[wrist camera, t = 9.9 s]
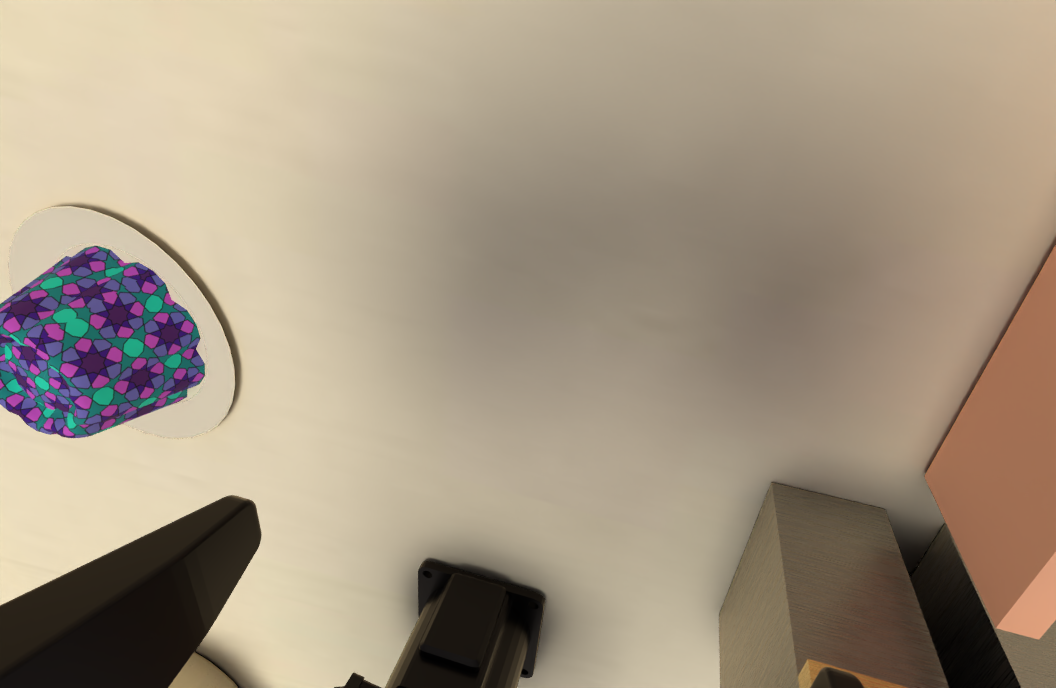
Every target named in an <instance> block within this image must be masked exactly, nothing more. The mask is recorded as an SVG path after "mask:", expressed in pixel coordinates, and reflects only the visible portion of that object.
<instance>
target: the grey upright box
mask: <svg viewBox="0 0 1056 688" xmlns="http://www.w3.org/2000/svg"><path fill="white" fill-rule="evenodd" d="M719 647H720V688H810V687H811V685H812V683H813V682H814V680H815V678H816V677H817V675H818V673H819V671H820V670H821V669H822V668H824V667H831V668H834V669H838V670H841V671H844V672H848V673H851V674H853V675H854V676H856V677H857V678H858V679H859V680H860V682H861V683H862V685H863V686H864V688H1056V620H1055V622H1054V623H1053V624H1052V625H1051V626H1050V627H1049V628H1048V630H1047V631H1046V632H1045V633H1044V634H1043V635H1042V637H1041V638H1040V639H1039V640H1038V639H1034V638H1031V637H1027V636H1023V635H1019V634H1015V633H1012V632H1008V631H1004V630H1000V629H997V628H995V626H994V624H993V622H992V620H991V617H990V615H989V613H988V611H987V609H986V607H985V605H984V603H983V600H982V598H981V596H980V594H979V592H978V590H977V588H976V586H975V583H974V581H973V579H972V577H971V575H970V573H969V571H968V569H967V566H966V564H965V562H964V560H963V558H962V556H961V554H960V552H959V549H958V547H957V545H956V543H955V541H954V539H953V537H952V535H951V532H950V530H949V528H948V526H947V524H945V523H944V525H943V527H942V528H941V530H940V532H939V533H938V535H937V536H936V538H935V540H934V541H933V543H932V544H931V546H930V548H929V549H928V551H927V552H926V554H925V556H924V557H923V559H922V560H921V562H920V564H919V565H918V567H917V568H916V570H915V572H914V573H913V575H912V576H911V578H910V577H909V575H908V572H907V569H906V566H905V564H904V561H903V558H902V555H901V552H900V550H899V547H898V544H897V541H896V538H895V536H894V533H893V530H892V527H891V525H890V522H889V519H888V516H887V513H886V511H885V509H882V508H878V507H874V506H870V505H865V504H861V503H857V502H853V501H849V500H844V499H840V498H836V497H832V496H828V495H823V494H819V493H815V492H811V491H807V490H802V489H798V488H794V487H790V486H786V485H781V484H777V483H773V482H772V483H771V485H770V488H769V490H768V493H767V495H766V498H765V500H764V503H763V505H762V508H761V510H760V513H759V515H758V518H757V521H756V523H755V526H754V528H753V531H752V533H751V536H750V538H749V541H748V543H747V546H746V548H745V551H744V553H743V556H742V558H741V561H740V563H739V566H738V568H737V571H736V573H735V576H734V579H733V581H732V584H731V586H730V589H729V591H728V594H727V596H726V599H725V601H724V604H723V606H722V609H721V611H720V614H719Z"/></svg>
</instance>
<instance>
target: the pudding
mask: <svg viewBox="0 0 1056 688" xmlns="http://www.w3.org/2000/svg"><path fill="white" fill-rule="evenodd" d="M86 244H97V245H102V246H108V247H112V248H114V249H117V250H120V251H123V252H125V253H127V254H129V255H131V256H132V257H134V258H136V259H138V260H140V261H141V262H143V263H144V264H145V265H147V266H148V267H150V268H151V269H152V270H154V271H155V272H156V273H157V274H158V275H159V276H160V277H162V278H163V279H164V280H165V281H166V282H167V283H168V284H169V285H170V286H171V287H172V288H173V290H174V291H175V292H176V293H177V294H178V295H179V296H180V298H181V299H182V301H183V302H184V303H185V305H186V306H187V308H188V309H189V311H190V312H191V314H192V316H193V318H194V319H195V321H196V323H197V325H198V328H199V330H200V332H201V335H202V337H203V341H204V345H205V349H206V354H207V372H206V378H205V380H204V383H203V386H202V387H201V389H200V390H199V391H198V393H197V394H196V395H194V396H193V397H192V398H190V399H189V400H186V401H184V402H181V403H177V402H179V401H181V400H182V399H184V398H186V397H187V389H188V388H191V387H193V386H196V385H198V384H200V383H201V381H202V379H203V378H204V376H205V364H204V362H203V360H202V359H201V357H200V355H199V354H198V352H197V350H196V347H197V345H198V343H199V340H200V335H199V332H198V329H197V325H196V323H195V322H194V320H193V319H192V317H191V316H190V314H189V313H188V311H187V310H186V309H184V308H183V307H181V306H180V305H178V304H177V303H175V302H174V301H172V300H171V297H170V295H169V292H168V289H167V287H166V284H165V283H164V282H163V281H162V280H161V279H160V278H159V277H158V276H157V275H156V274H155V273H154V272H153V271H152V270H151V269H149V268H147V267H145V266H144V265H142V264H140V263H124V262H123V261H122V260H121V259H120V258H119V257H117V256H116V255H115V254H114V253H113V252H112V251H111V250H109V249H106V248H102V247H99V246H93V247H88V248H84V249H83V250H82V251H80V252H79V253H77V254H76V255H75V256H73V257H68V256H66V257H65V258H63V259H62V260H61V261H59V262H58V263H57V261H58V259H59V258H60V257H61V256H62V255H63V253H65V252H66V251H68V250H69V249H71V248H73V247H76V246H80V245H86ZM8 268H9V278H10V285H11V288H12V292H13V295H12V296H11V297H9V298H8V299H7V300H5V301H4V302H3V303H1V304H0V404H1V405H2V406H3V407H4V408H6V409H7V410H8V411H9V412H12V413H14V414H17V415H19V416H20V417H21V418H22V419H23V421H24V422H25V423H26V424H27V425H28V426H30V427H32V428H33V429H35V430H36V431H39V432H43V433H46V434H50V435H51V434H58V435H60V436H62V437H67V438H81V437H88V436H91V435H94V434H97V433H99V432H102V431H104V430H107V429H110V428H112V427H115V426H117V425H120V424H122V423H123V424H125V425H127V426H129V427H131V428H134V429H136V430H139V431H141V432H144V433H147V434H151V435H155V436H159V437H163V438H174V439H183V438H193V437H196V436H199V435H202V434H205V433H208V432H209V431H211V430H212V429H213V428H215V427H216V426H218V425H219V424H220V422H221V421H222V420H223V419H224V418H225V416H226V415H227V413H228V411H229V408H230V406H231V404H232V401H233V395H234V389H235V374H234V364H233V360H232V355H231V351H230V347H229V344H228V342H227V339H226V337H225V334H224V331H223V329H222V326H221V324H220V322H219V321H218V319H217V317H216V315H215V313H214V311H213V310H212V308H211V306H210V304H209V303H208V301H207V300H206V298H205V297H204V296H203V294H202V293H201V291H200V290H199V289H198V287H197V286H196V284H195V283H194V282H193V281H192V279H191V278H190V277H189V276H188V275H187V274H186V273H185V272H184V270H183V269H182V268H181V267H180V266H179V265H178V264H177V263H176V262H175V261H174V260H173V259H172V258H171V257H170V256H169V255H167V254H166V253H165V252H164V251H163V250H162V249H161V248H160V247H159V246H157V245H156V244H155V243H154V242H152V241H151V240H149V239H148V238H146V237H145V236H144V235H142V234H141V233H139V232H138V231H137V230H135V229H134V228H132V227H130V226H128V225H126V224H124V223H122V222H120V221H118V220H117V219H115V218H113V217H110V216H107V215H105V214H102V213H99V212H96V211H93V210H90V209H84V208H78V207H72V206H62V207H50V208H47V209H44V210H41V211H38V212H35V213H34V214H33V215H31V216H30V217H29V218H27V219H26V220H24V221H23V223H22V224H21V225H20V227H19V228H18V230H17V231H16V232H15V234H14V237H13V240H12V243H11V246H10V250H9V261H8ZM174 403H176V404H174Z"/></svg>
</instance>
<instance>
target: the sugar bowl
mask: <svg viewBox="0 0 1056 688" xmlns="http://www.w3.org/2000/svg"><path fill="white" fill-rule="evenodd" d="M168 688H238V687H237V685H236V684H235V683H234V682H233V681H232V680H231V679H230V678H229V677H228V676H227V675H226V674H225V673H223V672H222V671H221V670H220V669H219V668H217V667H216V666H215V665H214V664H212V663H211V662H210V661H208V660H207V659H205V658H203V657H202V656H200V655H198V654H196V653H195V652H194V653H193V654H192V656H191V657H190V658H189V660H188V661H187V663H186V664H185V665H184V667H183V668H182V669H181V671H180V672H179V674H178V675H177V676H176V678H175V679H174V680H173V682H172V683H171V685H170V686H169V687H168Z"/></svg>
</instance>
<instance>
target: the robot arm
mask: <svg viewBox="0 0 1056 688" xmlns="http://www.w3.org/2000/svg"><path fill="white" fill-rule="evenodd" d="M260 541H261V529H260V524H259V519H258V514H257V509H256V505H255V503H254V502H253V501H252V500H249V499H246V498H242V497H239V496H234V495H230V496H226V497H224V498H222V499H220V500H217V501H215V502H213V503H211V504H209V505H207V506H205V507H203V508H201V509H199V510H197V511H195V512H193V513H191V514H189V515H186V516H184V517H182V518H180V519H178V520H176V521H174V522H172V523H170V524H168V525H166V526H164V527H162V528H160V529H157V530H155V531H153V532H151V533H149V534H147V535H145V536H143V537H141V538H139V539H137V540H135V541H133V542H131V543H129V544H126V545H124V546H122V547H120V548H118V549H116V550H114V551H112V552H110V553H108V554H106V555H104V556H102V557H100V558H98V559H95V560H93V561H91V562H89V563H87V564H85V565H83V566H81V567H79V568H77V569H75V570H73V571H71V572H69V573H66V574H64V575H62V576H60V577H58V578H56V579H54V580H52V581H50V582H48V583H46V584H44V585H42V586H40V587H38V588H35V589H33V590H31V591H29V592H27V593H25V594H23V595H21V596H19V597H17V598H15V599H13V600H11V601H9V602H7V603H4V604H2V605H0V688H168V687H169V686H170V685H171V683H172V682H173V680H174V679H175V678H176V676H177V675H178V674H179V672H180V671H181V669H182V668H183V667H184V665H185V664H186V663H187V661H188V660H189V658H190V657H191V656H192V654H193V653H194V651H195V650H196V649H197V647H198V646H199V644H200V643H201V642H202V640H203V639H204V637H205V636H206V634H207V633H208V631H209V630H210V628H211V627H212V625H213V623H214V622H215V620H216V619H217V617H218V615H219V613H220V612H221V610H222V608H223V607H224V605H225V603H226V602H227V600H228V598H229V597H230V595H231V593H232V591H233V590H234V588H235V586H236V585H237V583H238V581H239V580H240V578H241V576H242V575H243V573H244V571H245V569H246V568H247V566H248V564H249V563H250V561H251V559H252V558H253V556H254V554H255V553H256V551H257V549H258V547H259V544H260ZM418 599H419V619H418V621H417V623H416V625H415V627H414V629H413V631H412V633H411V635H410V637H409V639H408V641H407V643H406V645H405V648H404V650H403V652H402V654H401V656H400V658H399V660H398V662H397V664H396V666H395V668H394V670H393V672H392V674H391V676H390V678H389V681H388V683H387V685H386V687H385V688H517V685H518V682H519V678H520V676H521V677H524V678H530V677H532V675H533V672H534V669H535V663H536V657H537V651H538V644H539V638H540V632H541V625H542V619H543V613H544V606H545V598H544V597H543V596H542V595H541V594H539V593H537V592H534V591H530V590H527V589H524V588H520V587H517V586H513V585H510V584H507V583H503V582H500V581H496V580H493V579H489V578H486V577H483V576H479V575H476V574H472V573H469V572H465V571H462V570H459V569H455V568H452V567H448V566H445V565H441V564H438V563H435V562H431V561H424V562H423V563H422V564H421V566H420V568H419V571H418ZM364 678H365V677H363V676H360V675H358V674H356V673H353V674H352V675H351V677H350V679H349V680H348V682H347V683H346V685H345V686H344V687H334V688H381V687H379V686H376V685H374V684H372V683H370V682H368V681H366V680H364ZM810 688H864V686H863V685H862V683H861V682H860V680H859V679H858V678H857V677H856V676H854V675H853V674H851V673H848V672H844V671H841V670H838V669H834V668H831V667H824V668H822V669H821V670H820V671H819V673H818V675H817V677H816V678H815V680H814V682H813V683H812V685H811V687H810Z"/></svg>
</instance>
